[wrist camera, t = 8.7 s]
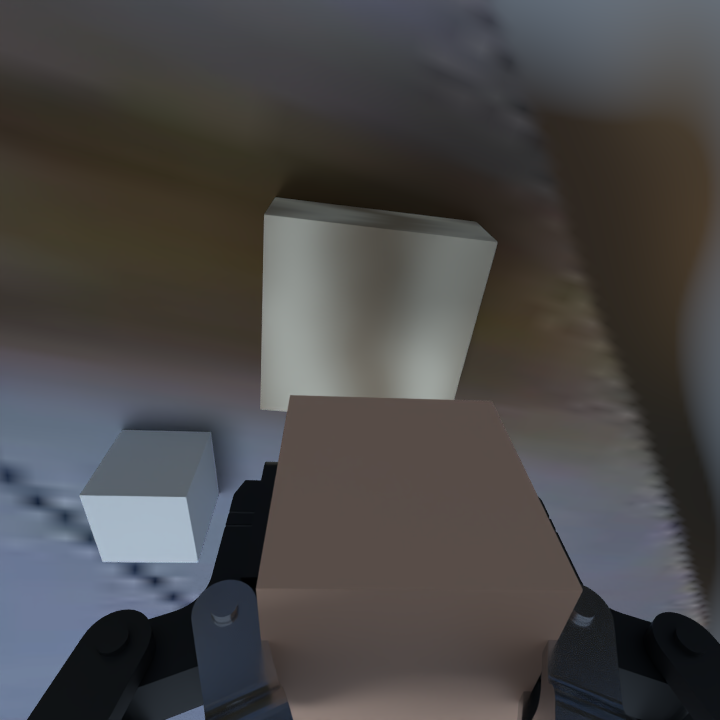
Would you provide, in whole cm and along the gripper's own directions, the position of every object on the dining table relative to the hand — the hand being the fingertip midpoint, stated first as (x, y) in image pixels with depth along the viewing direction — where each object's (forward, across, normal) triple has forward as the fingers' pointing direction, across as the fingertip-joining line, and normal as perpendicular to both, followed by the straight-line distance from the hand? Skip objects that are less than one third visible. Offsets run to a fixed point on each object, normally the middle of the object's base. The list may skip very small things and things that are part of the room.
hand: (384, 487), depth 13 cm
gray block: (+14, 0, 0) cm, 14 cm away
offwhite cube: (+14, +12, +12) cm, 22 cm away
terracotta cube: (+1, 0, 0) cm, 1 cm away
